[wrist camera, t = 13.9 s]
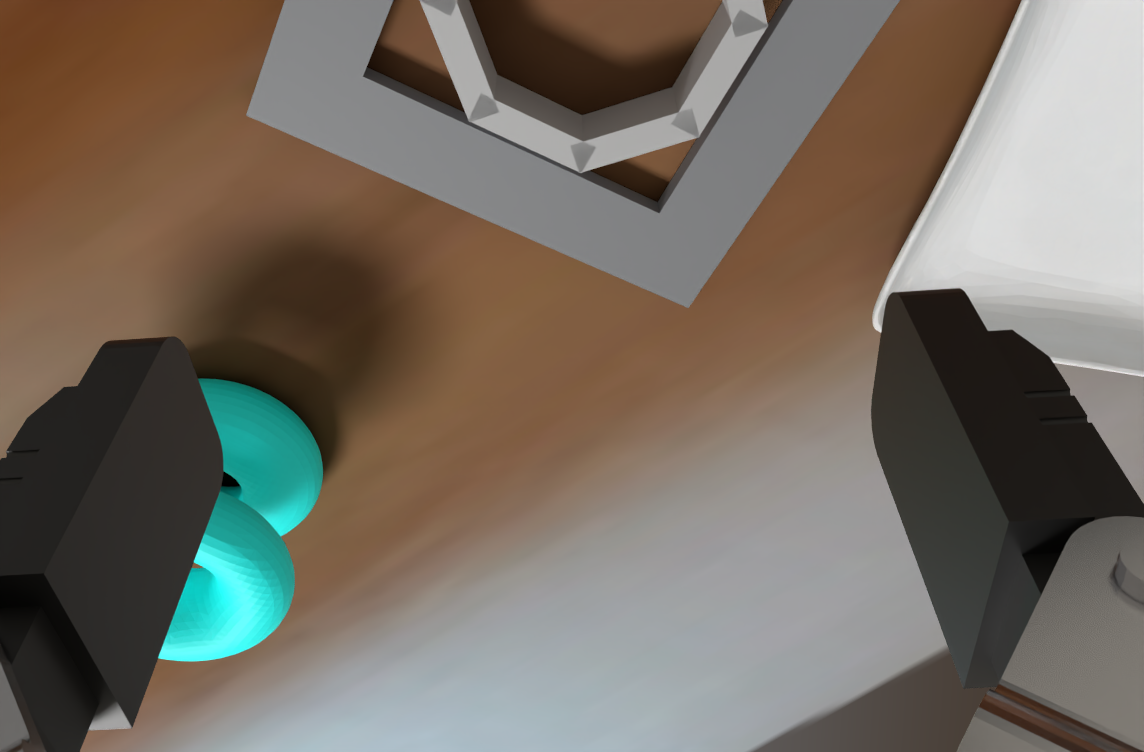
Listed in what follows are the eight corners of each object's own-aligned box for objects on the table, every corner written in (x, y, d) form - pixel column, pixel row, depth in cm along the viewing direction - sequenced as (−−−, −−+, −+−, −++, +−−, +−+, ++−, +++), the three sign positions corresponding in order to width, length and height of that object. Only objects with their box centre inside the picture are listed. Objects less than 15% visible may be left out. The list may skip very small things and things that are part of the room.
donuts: (329, 584, 43) (223, 701, 48) (364, 430, 51) (270, 543, 56) (98, 480, 39) (7, 618, 44) (175, 331, 47) (91, 461, 52)
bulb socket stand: (450, -480, 30) (442, -485, 28) (981, -139, 36) (1006, -123, 34) (252, 105, 41) (236, 131, 39) (685, 295, 46) (691, 327, 44)
